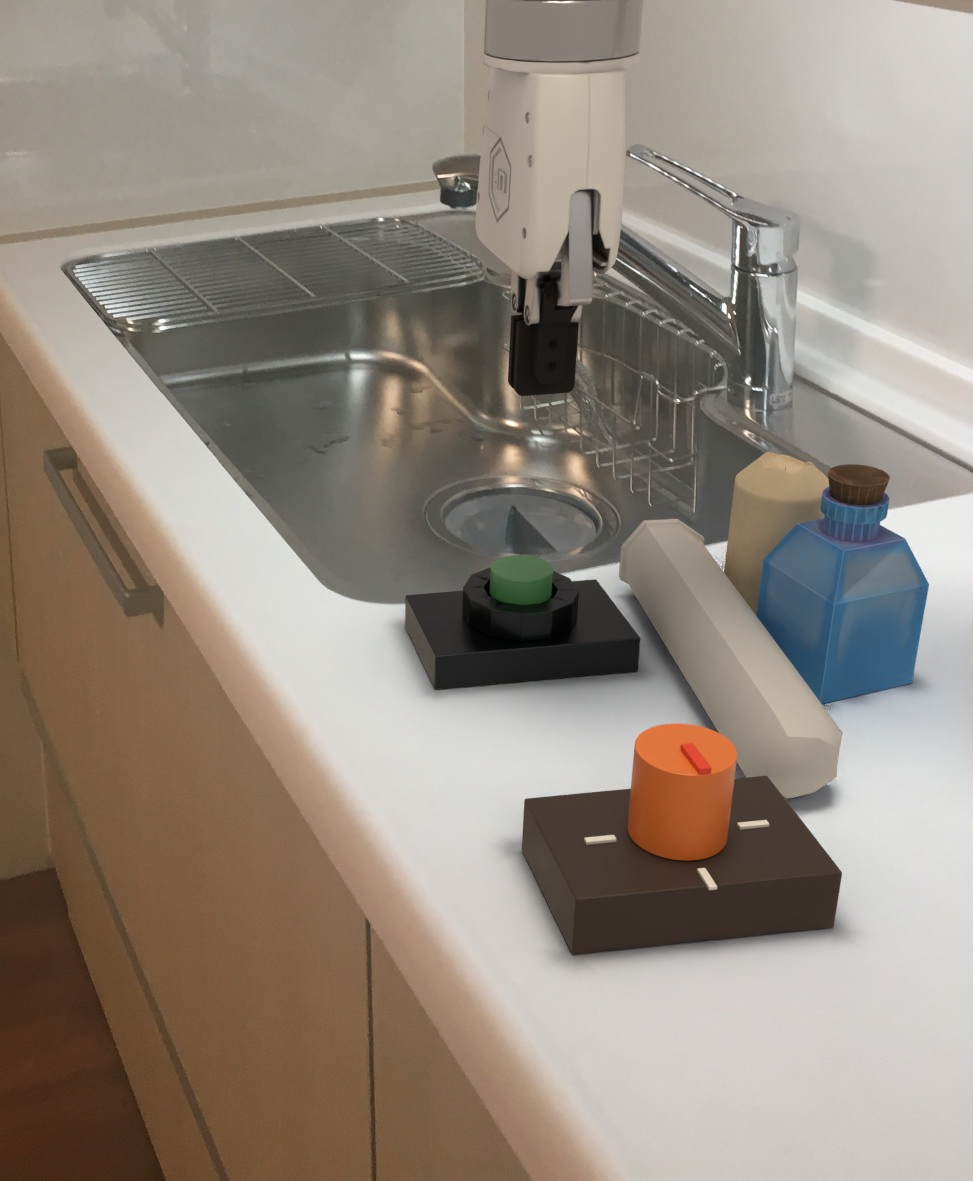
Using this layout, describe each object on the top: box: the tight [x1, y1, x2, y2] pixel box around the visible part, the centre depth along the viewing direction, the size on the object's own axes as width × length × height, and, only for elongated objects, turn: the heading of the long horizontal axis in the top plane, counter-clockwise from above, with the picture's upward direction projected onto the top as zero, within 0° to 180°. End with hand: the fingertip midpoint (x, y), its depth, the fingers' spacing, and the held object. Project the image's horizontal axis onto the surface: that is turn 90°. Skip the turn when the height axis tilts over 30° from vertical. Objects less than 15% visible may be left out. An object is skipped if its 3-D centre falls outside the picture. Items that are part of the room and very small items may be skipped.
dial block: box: [521, 776, 843, 955], centre depth 74 cm, size 12×9×3 cm
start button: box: [489, 554, 554, 605], centre depth 94 cm, size 4×4×2 cm
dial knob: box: [627, 723, 738, 861], centre depth 73 cm, size 4×4×5 cm
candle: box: [723, 451, 829, 615], centre depth 97 cm, size 6×6×10 cm
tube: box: [618, 518, 844, 800], centre depth 90 cm, size 5×5×25 cm
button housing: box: [404, 567, 641, 690], centre depth 95 cm, size 12×8×4 cm, turn 96°
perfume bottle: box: [756, 463, 930, 705], centre depth 90 cm, size 6×6×12 cm
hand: (540, 388), depth 87 cm, fingers closed
